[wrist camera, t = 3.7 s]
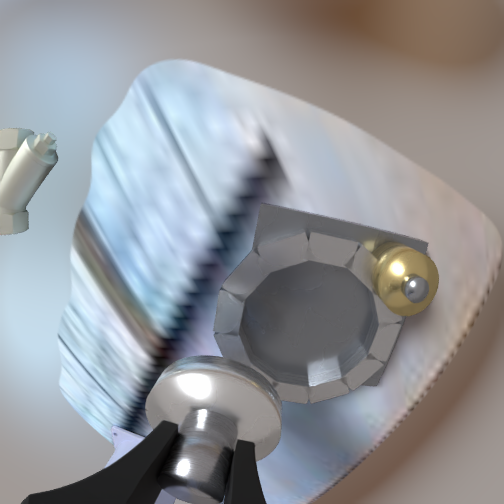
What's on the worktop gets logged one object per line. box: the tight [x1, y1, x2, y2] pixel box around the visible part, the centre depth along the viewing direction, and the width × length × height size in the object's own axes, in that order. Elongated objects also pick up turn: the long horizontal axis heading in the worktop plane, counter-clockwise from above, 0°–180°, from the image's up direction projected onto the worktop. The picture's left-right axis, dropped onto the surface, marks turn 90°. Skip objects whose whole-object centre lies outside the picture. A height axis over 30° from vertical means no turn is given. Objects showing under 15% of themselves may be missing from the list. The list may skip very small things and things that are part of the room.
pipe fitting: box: [0, 128, 58, 235], centre depth 16 cm, size 8×4×7 cm
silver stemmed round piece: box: [145, 356, 282, 504], centre depth 10 cm, size 6×6×5 cm
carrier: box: [213, 203, 439, 404], centre depth 15 cm, size 11×11×5 cm
